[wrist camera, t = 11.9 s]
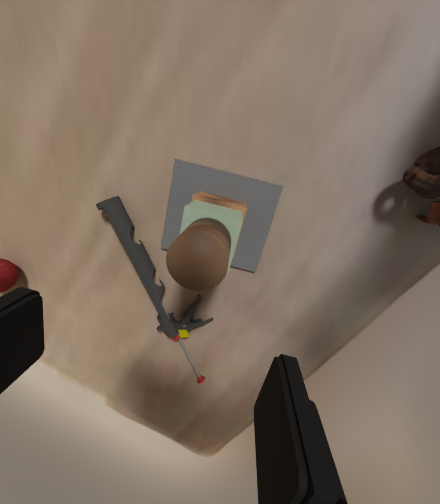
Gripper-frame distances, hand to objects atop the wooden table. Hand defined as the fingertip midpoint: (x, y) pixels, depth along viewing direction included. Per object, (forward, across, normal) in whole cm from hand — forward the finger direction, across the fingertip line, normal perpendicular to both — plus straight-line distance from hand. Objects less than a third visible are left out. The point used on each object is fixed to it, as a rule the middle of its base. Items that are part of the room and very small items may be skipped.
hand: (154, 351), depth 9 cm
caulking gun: (+29, +5, +15) cm, 33 cm away
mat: (+28, 0, 0) cm, 28 cm away
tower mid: (+22, 0, 0) cm, 22 cm away
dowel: (+16, 0, 0) cm, 16 cm away
